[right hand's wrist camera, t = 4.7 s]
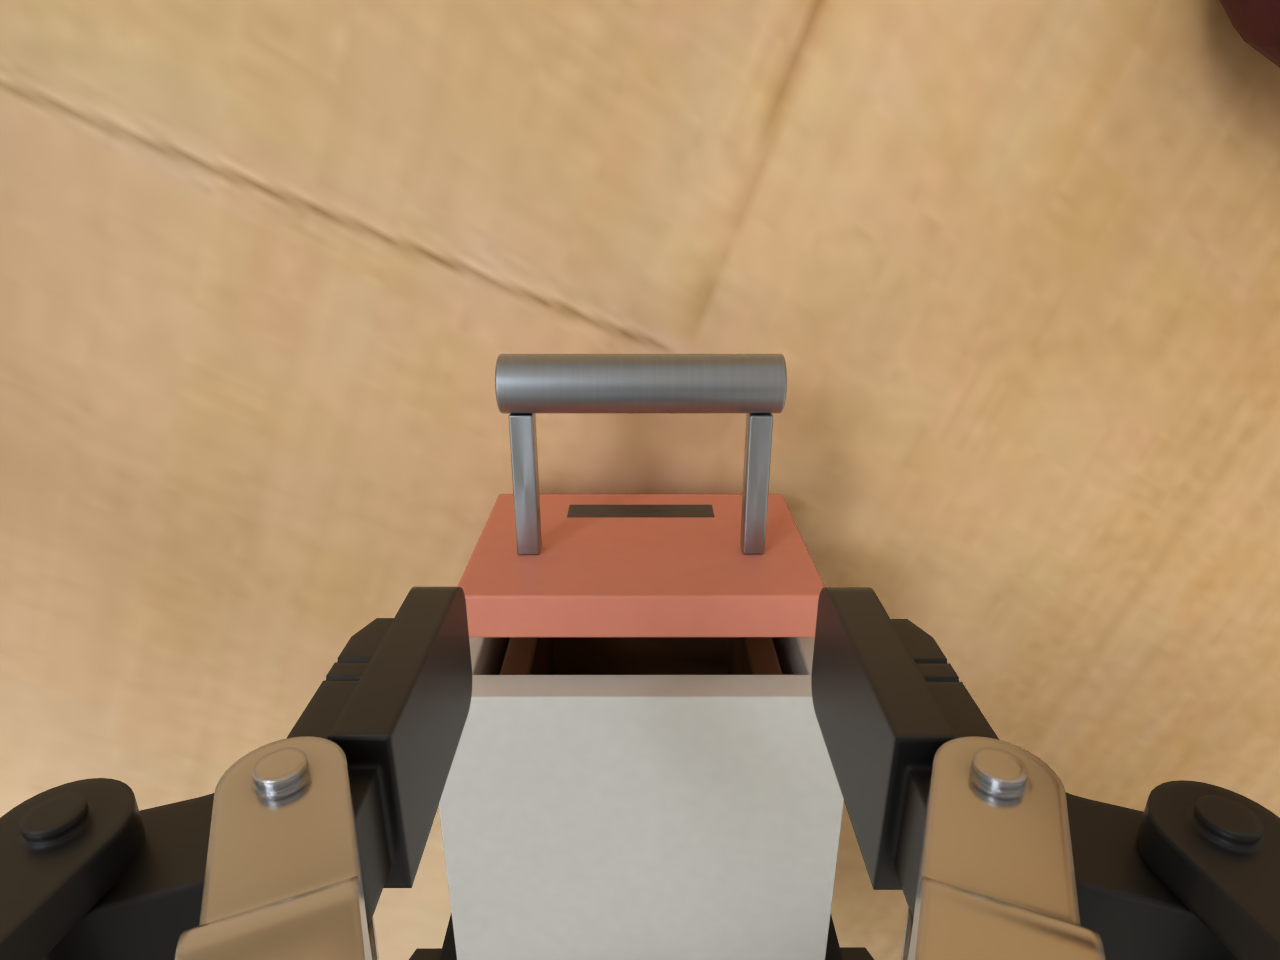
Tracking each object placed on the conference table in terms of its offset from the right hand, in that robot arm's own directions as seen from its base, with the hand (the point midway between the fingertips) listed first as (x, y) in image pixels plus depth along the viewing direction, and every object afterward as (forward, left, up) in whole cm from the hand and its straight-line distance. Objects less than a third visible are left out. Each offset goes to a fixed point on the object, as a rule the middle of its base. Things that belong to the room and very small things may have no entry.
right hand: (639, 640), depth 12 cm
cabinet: (+13, 0, -13) cm, 19 cm away
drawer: (+7, 0, -13) cm, 14 cm away
